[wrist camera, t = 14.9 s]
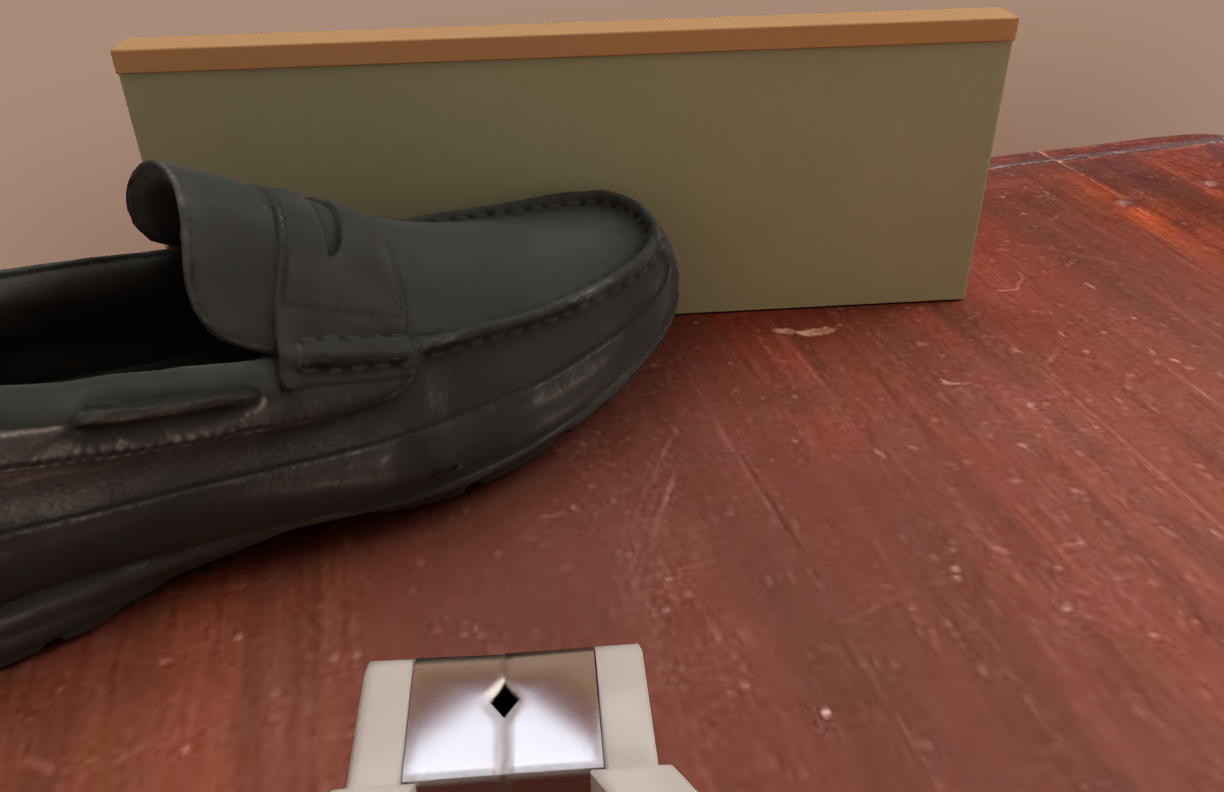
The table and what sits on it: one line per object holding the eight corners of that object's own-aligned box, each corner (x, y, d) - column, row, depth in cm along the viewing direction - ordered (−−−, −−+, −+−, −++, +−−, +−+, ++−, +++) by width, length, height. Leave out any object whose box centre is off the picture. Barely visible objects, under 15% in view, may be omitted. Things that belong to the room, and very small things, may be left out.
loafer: (741, 382, 36) (758, 88, 31) (-279, 913, 20) (-626, 504, 15) (556, 283, 43) (543, 27, 37) (-320, 626, 27) (-570, 270, 21)
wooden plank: (188, 342, 39) (108, 49, 33) (199, 322, 40) (124, 37, 35) (966, 301, 41) (1020, 16, 35) (951, 283, 42) (1001, 6, 36)
